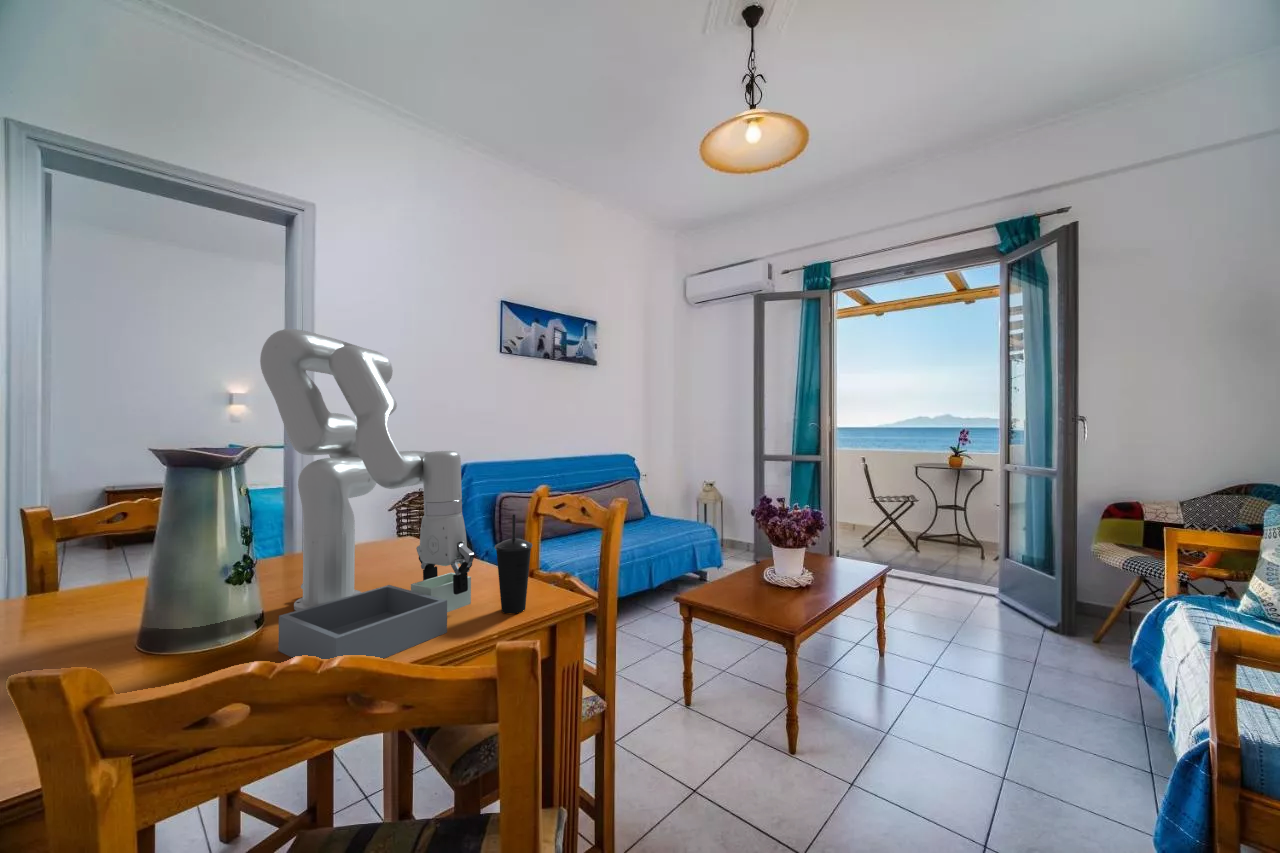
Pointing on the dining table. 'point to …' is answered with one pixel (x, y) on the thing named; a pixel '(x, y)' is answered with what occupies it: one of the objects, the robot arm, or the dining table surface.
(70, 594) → the dining table surface
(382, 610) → the big crate
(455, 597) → the block
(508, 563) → the drinking cup
